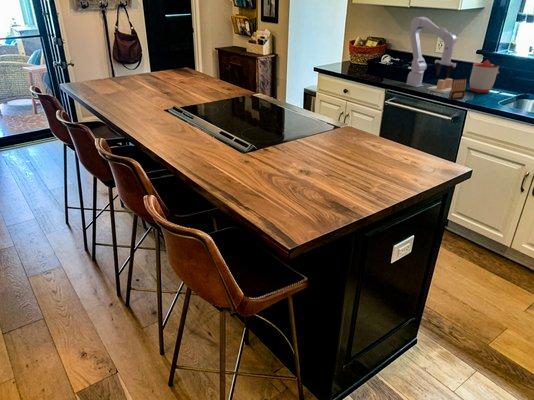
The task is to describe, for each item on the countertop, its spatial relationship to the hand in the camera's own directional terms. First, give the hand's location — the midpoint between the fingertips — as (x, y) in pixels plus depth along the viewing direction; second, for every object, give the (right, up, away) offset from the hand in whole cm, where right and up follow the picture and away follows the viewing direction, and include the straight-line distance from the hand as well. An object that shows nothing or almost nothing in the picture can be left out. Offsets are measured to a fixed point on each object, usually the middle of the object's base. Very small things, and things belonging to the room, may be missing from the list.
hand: (442, 76), depth 275 cm
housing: (+2, -8, +6) cm, 10 cm away
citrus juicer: (+28, -8, +7) cm, 30 cm away
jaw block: (0, -8, +4) cm, 9 cm away
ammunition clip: (+3, -18, -14) cm, 23 cm away
